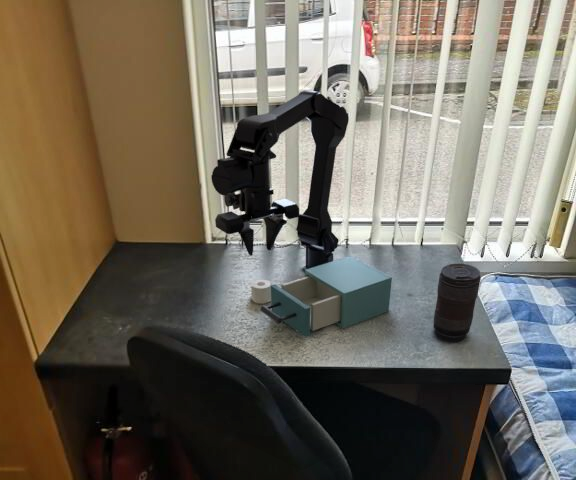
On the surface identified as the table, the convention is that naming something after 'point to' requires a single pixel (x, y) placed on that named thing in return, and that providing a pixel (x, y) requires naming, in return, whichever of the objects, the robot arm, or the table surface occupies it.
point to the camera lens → (456, 301)
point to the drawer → (304, 305)
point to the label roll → (261, 291)
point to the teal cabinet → (355, 288)
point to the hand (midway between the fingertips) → (259, 252)
